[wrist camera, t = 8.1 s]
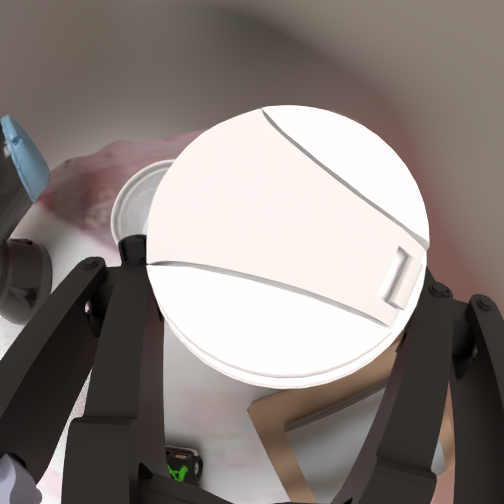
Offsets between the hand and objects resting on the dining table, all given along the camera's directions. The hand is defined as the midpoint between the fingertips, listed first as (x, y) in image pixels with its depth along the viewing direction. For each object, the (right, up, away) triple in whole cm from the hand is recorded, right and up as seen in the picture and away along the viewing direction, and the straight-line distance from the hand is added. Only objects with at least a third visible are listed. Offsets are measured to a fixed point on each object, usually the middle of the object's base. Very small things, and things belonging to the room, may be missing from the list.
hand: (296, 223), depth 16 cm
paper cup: (0, -5, +4) cm, 6 cm away
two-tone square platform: (+11, -24, +12) cm, 29 cm away
